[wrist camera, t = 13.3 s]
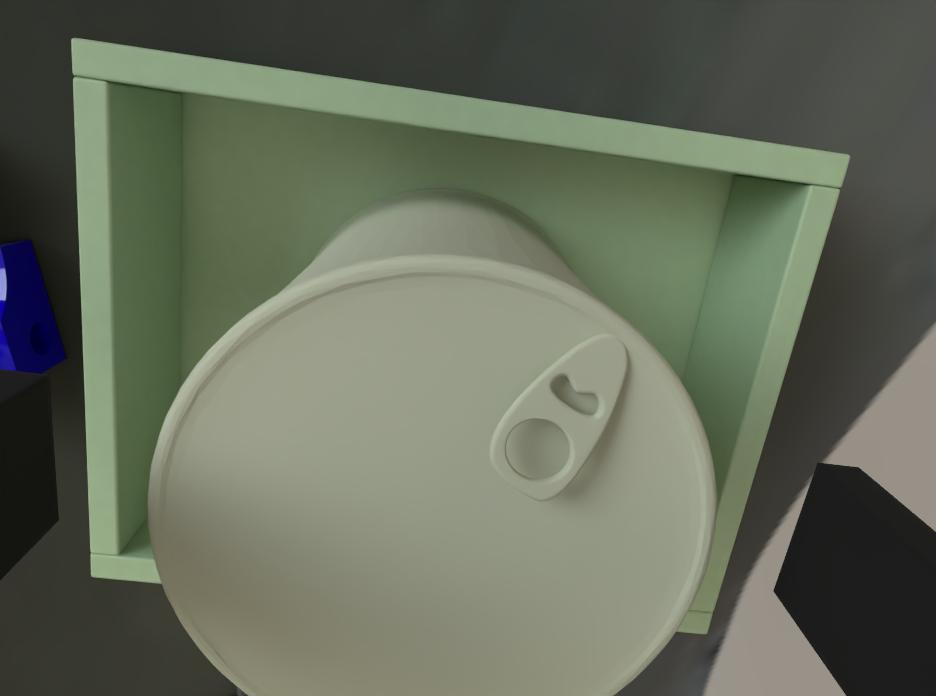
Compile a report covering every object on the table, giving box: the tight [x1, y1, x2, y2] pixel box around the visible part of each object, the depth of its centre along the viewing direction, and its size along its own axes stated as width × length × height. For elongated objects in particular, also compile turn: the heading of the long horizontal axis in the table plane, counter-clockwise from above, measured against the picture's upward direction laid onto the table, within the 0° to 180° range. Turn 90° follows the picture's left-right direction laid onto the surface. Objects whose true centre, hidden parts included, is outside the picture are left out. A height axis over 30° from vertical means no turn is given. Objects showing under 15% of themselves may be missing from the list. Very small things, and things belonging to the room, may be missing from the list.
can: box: [147, 188, 717, 696], centre depth 16 cm, size 9×9×12 cm
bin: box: [71, 38, 850, 634], centre depth 20 cm, size 14×18×5 cm
